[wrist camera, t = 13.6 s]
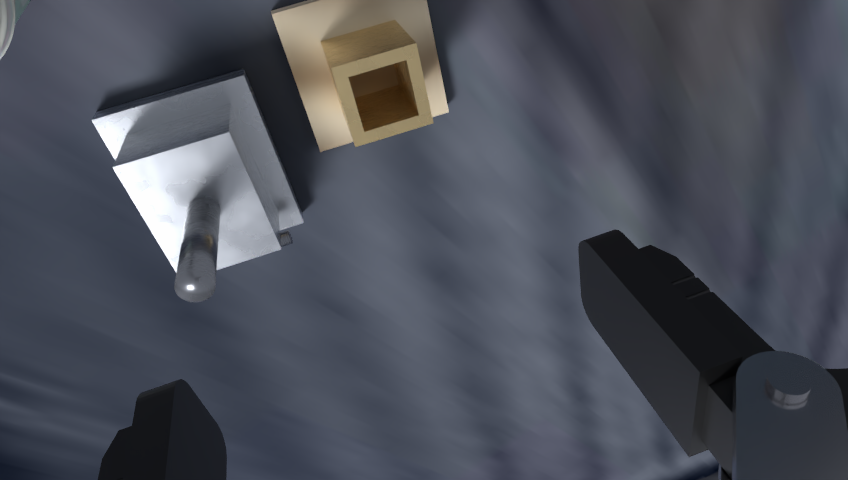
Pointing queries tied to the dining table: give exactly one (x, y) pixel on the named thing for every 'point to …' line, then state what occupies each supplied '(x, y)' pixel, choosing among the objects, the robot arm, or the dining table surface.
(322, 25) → the beige pad
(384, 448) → the dining table surface
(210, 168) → the block
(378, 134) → the collar
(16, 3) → the coffee cup
